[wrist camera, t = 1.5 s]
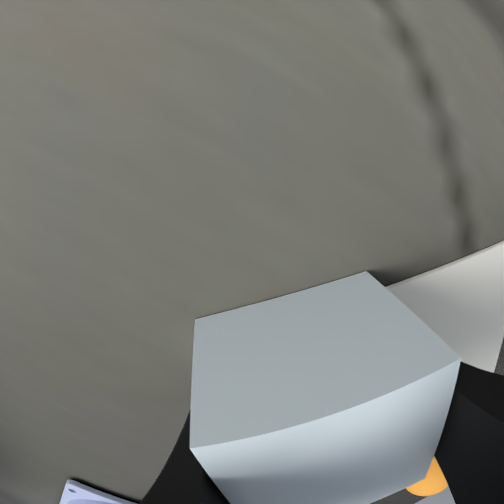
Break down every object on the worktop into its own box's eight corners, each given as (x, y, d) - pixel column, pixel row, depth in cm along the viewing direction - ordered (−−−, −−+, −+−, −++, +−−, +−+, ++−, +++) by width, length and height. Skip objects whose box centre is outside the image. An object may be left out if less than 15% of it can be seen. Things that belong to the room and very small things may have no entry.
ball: (412, 466, 16) (434, 504, 12) (379, 464, 15) (402, 510, 11) (451, 428, 15) (479, 466, 12) (423, 423, 14) (454, 469, 11)
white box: (371, 390, 12) (424, 478, 7) (241, 429, 12) (257, 534, 7) (366, 270, 10) (461, 358, 5) (195, 319, 10) (189, 448, 5)
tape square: (486, 386, 14) (488, 388, 14) (344, 457, 14) (345, 459, 14) (515, 235, 11) (518, 236, 11) (328, 305, 11) (330, 308, 10)
